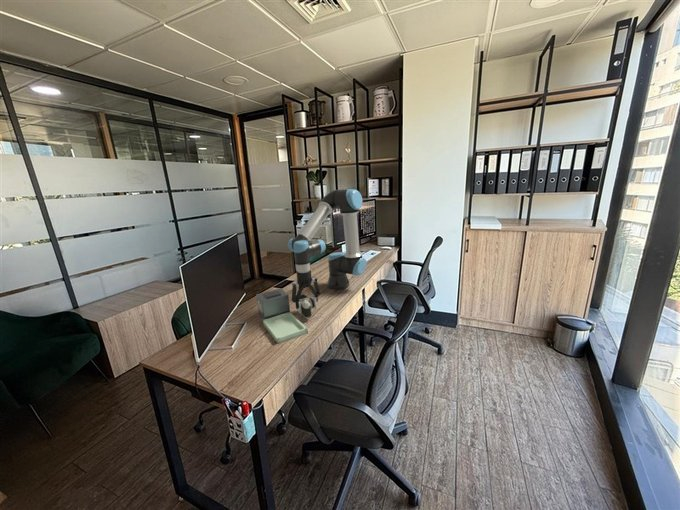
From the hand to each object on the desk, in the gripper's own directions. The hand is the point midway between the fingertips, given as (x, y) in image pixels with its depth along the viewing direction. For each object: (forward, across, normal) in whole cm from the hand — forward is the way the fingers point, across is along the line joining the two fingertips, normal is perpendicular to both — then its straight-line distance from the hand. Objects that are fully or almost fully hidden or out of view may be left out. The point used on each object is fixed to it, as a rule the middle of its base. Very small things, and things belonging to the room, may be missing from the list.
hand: (307, 310), depth 149 cm
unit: (+3, +15, -13) cm, 20 cm away
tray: (+3, +16, +5) cm, 17 cm away
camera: (+1, 0, -1) cm, 2 cm away
